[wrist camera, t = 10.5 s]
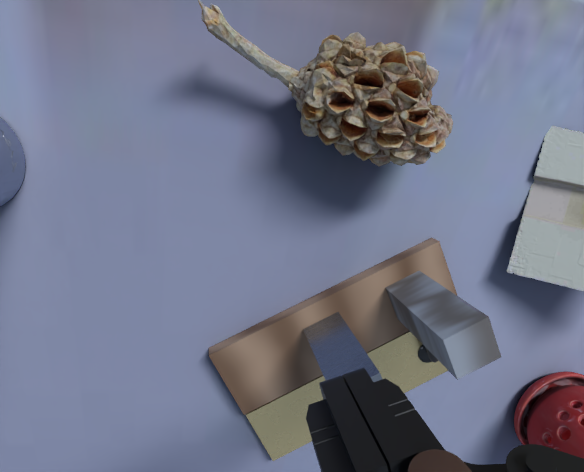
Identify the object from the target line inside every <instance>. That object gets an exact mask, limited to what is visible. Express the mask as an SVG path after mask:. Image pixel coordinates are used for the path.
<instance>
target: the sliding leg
mask: <svg viewBox="0 0 584 472" xmlns="http://www.w3.org/2000/svg"><path fill="white" fill-rule="evenodd" d="M303 330H304V332H305V335H306V337H307V339H308V341H309V344H310V346H311V348H312V351H313V353H314V355H315V357H316V360H317V362H318V364H319V367H320V369H321V371H322V373H323V376H324V378H325V380H329V379H332V378H335V377H338V376H342V375H343V374H346V373H349V372H352V371H355V370H358V369H361V368H365V370H366V371H367V373H368V374H369V376H370V377H371V379H372V381H373V382H376V381H379V380H382V377H381V374H380V372H379V371H378V369H377V368H376V366H375V365H374V363H373V362H372V360H371V359H370V358H369V356H368V355H367V353H366V352H365V350H364V349H363V347H362V346H361V344H360V343H359V341H358V340H357V338H356V337H355V336H354V334H353V333H352V331H351V330H350V328H349V327H348V325H347V324H346V322H345V321H344V319H343V318H342V316H341V315H340V314H339V312H336V313H334V314H332V315H330V316H328V317H326V318H324V319H322V320H320V321H318V322H316V323H314V324H312V325H310V326H308V327H306V328H304V329H303Z"/></svg>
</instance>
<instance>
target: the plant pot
mask: <svg viewBox="0 0 584 472" xmlns="http://www.w3.org/2000/svg"><path fill="white" fill-rule="evenodd" d="M514 427H515V432H516V434H517V437H518V439H519V440H520V442H521V443H522V444H523V445H526V444H537V445H543V446H546V447H550V448H553V449H556V450H559V451H562V452H565V453H568V454H571V455H574V456H577V457H580V458H583V459H584V375H581V374H578V373H574V372H558V373H553V374H550V375H547V376H545V377H543V378H541V379H539V380H537V381H536V382H535V383H533V384H532V385H531V386H530V387H529V388H528V389H527V390H526V391H525V392H524V394H523V395H522V396H521V398H520V400H519V402H518V404H517V407H516V410H515V415H514Z"/></svg>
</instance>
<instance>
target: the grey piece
mask: <svg viewBox="0 0 584 472" xmlns="http://www.w3.org/2000/svg"><path fill="white" fill-rule="evenodd" d="M542 145H543V146H542V149H541V152H542V153H540V155H539V158H540V160H538V163H537V165H538V166H537V167H536V170H535V171H536V172H535V174H534V175H535V176H533V178H534V183H533V184H532V185H531V187H530V188H531V190H530V191H529V192H530V193H529V196H528V198H527V204H526V205H525V209H524V212H523V213H524V214H523V216H522V219H521V223H520V226H519V231H518V234H517V236H516V240H515V245H514V248H513V251H512V255H511V256H512V257H511V258H510V261H509V265H508V269H507V272H508V273H511V274H512V272H513V273H514V274H515V275H516V274H517V275H519V276H524V277H528V278H534V279H536V280H540V281H541V280H542V281H544V282H545V281H546V282H549V283H551V284H552V283H554V284H557V285H559V286H566V287H569V288H573V289H577V290H581V291H584V133H582V132H579V131H577V132H576V131H572V130H568V129H566V128H565V129H562V128H560V127H556V126H551V128H550V130H549V131H548V132H547V134H546V136H545V137H544V143H543V144H542Z"/></svg>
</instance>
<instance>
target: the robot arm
mask: <svg viewBox="0 0 584 472" xmlns="http://www.w3.org/2000/svg"><path fill="white" fill-rule="evenodd" d="M25 168H26V166H25V155H24V152H23V149H22V146H21V143H20V141H19V139H18V138H17V136H16V134H15V132H14V131H13V130H12V129H11V127H10V126H9V125H8V124H7V123H6V122H5V121H4V120H3V119H2V118H1V117H0V206H2V205H4V204H5V203H7V202H8V201H9V200H10V199H11V198H13V197H14V195H15V194H16V193H17V191H18V190H19V189H20V186H21V184H22V182H23V179H24V174H25ZM319 385H320V389H321V393H322V397H323V400H321V401H318V402H315V403H312V404H309V406H308V411H307V415H306V421H307V424H308V428H309V431H310V435H311V438H312V442H313V445H314V449H315V452H316V456H317V459H318V462H319V466H320V469H321V472H584V459H583V458H580V457H577V456H574V455H571V454H568V453H565V452H562V451H559V450H556V449H553V448H550V447H546V446H543V445H537V444H526V445H521V446H518V447H516V448H514V449H513V450H512V451H511V452H510V453H509V454H508V456H507V459H506V464H490V465H476V464H470V463H466V462H463V461H462V460H461V459H460V458H459V457H458V456H456V455H454V454H453V453H451V452H448V451H446V450H445V449H444V448H443V447H442V445H441V444H440V443H439V441H438V440H437V439H436V437H435V436H434V434H433V433H432V432H431V430H430V429H429V427H428V426H427V425H426V423H425V422H424V420H423V419H422V418H421V416H420V415H419V414H418V412H417V411H416V410H415V408H414V407H413V405H412V404H411V402H410V401H409V400H408V399H407V397H406V396H405V394H404V393H403V391H402V390H401V389H400V387H399V386H397V385H396V384H394V383H392V382H391V381H389V380H387V379H386V378H385V379H382V380H379V381H376V382H373V381H372V379H371V377H370V376H369V374H368V373H367V371H366V370H365V368H361V369H358V370H355V371H352V372H349V373H346V374H343V375H342V376H338V377H335V378H332V379H329V380H326V381H323V382H320V383H319Z"/></svg>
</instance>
